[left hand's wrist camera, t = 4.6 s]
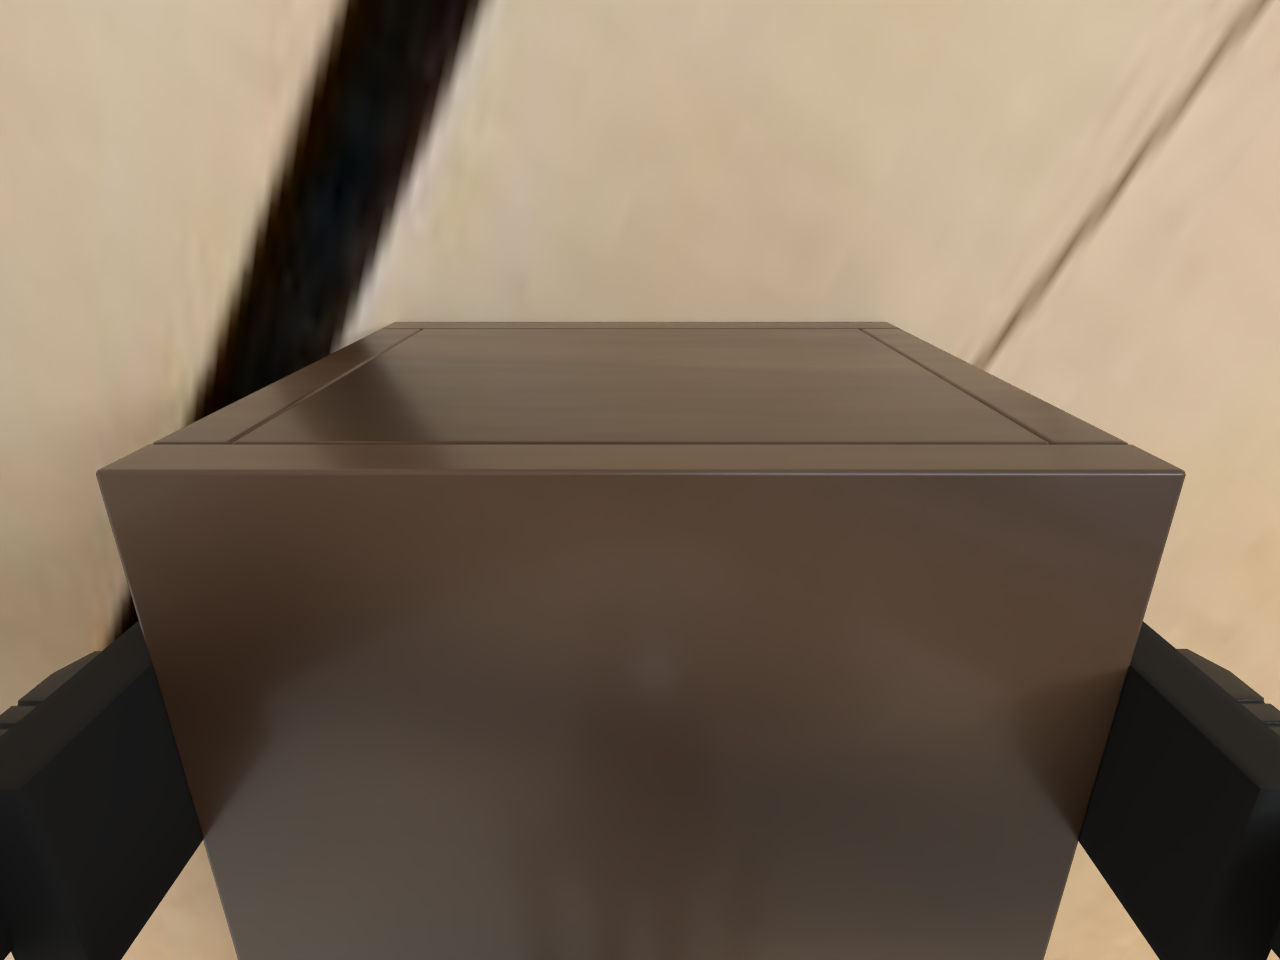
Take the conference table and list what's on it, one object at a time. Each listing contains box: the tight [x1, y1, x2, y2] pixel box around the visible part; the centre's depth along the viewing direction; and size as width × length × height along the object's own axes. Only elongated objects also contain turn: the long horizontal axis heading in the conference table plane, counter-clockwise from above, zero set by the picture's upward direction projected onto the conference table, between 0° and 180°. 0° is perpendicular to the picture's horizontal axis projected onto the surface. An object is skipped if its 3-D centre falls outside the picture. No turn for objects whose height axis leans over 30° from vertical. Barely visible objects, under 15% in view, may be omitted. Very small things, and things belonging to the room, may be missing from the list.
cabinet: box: [96, 322, 1185, 960], centre depth 16 cm, size 22×11×10 cm, turn 0°
